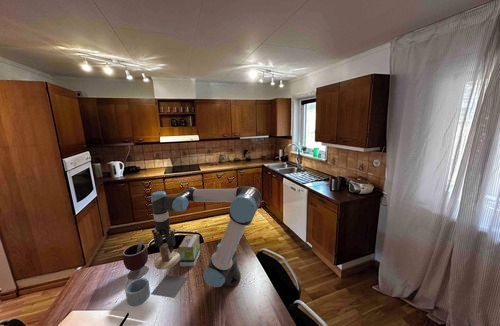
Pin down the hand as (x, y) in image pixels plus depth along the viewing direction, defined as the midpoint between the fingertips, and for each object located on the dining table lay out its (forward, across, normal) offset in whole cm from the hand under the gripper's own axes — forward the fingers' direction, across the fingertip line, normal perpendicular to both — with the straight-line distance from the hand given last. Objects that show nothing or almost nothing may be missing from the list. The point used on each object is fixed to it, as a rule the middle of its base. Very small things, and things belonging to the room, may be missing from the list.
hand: (167, 256), depth 116 cm
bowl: (+20, +13, +10) cm, 26 cm away
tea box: (+20, 0, -24) cm, 32 cm away
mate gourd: (+20, +28, -8) cm, 35 cm away
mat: (+20, +1, 0) cm, 20 cm away
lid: (+3, 0, 0) cm, 3 cm away
